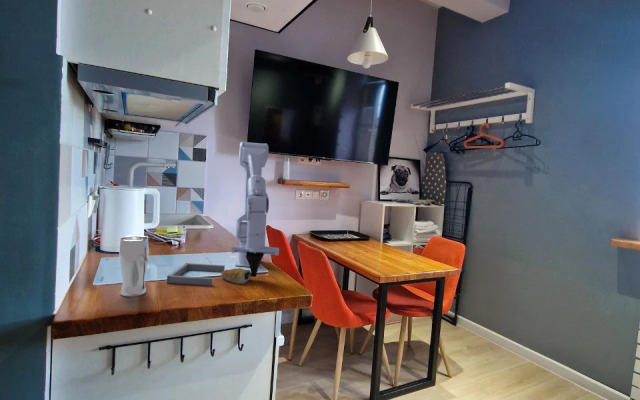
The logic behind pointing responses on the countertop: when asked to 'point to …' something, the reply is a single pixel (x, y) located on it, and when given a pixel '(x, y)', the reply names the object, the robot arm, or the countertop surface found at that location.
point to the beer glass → (133, 264)
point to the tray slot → (179, 279)
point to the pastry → (237, 275)
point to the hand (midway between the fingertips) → (254, 275)
